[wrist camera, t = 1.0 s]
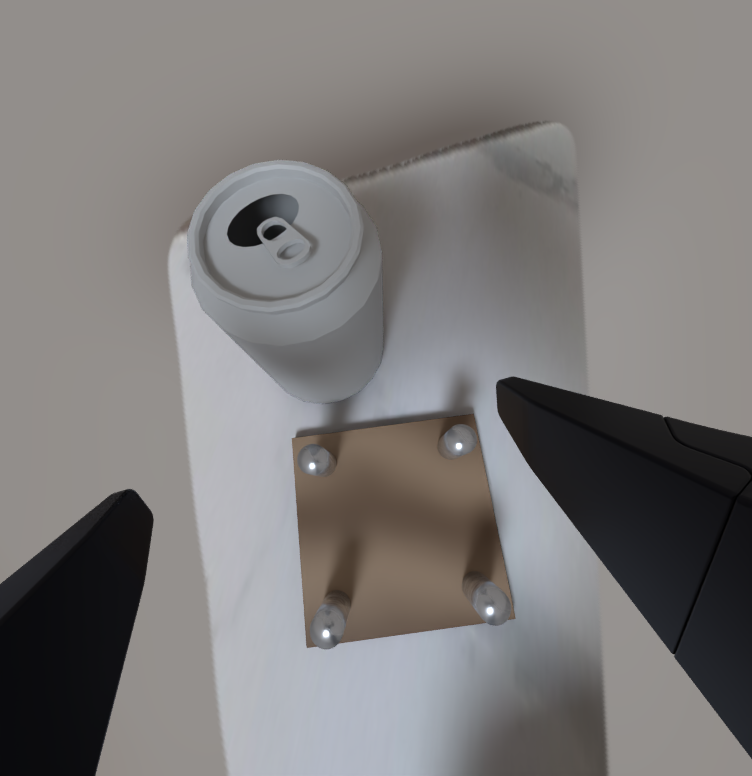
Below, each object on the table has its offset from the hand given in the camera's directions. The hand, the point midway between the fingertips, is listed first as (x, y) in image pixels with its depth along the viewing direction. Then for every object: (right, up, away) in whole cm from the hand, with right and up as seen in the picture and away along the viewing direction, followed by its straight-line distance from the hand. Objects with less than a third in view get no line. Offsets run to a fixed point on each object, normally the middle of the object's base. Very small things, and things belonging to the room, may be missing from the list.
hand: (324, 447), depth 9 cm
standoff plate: (+2, -6, +12) cm, 14 cm away
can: (-2, +4, +16) cm, 16 cm away
